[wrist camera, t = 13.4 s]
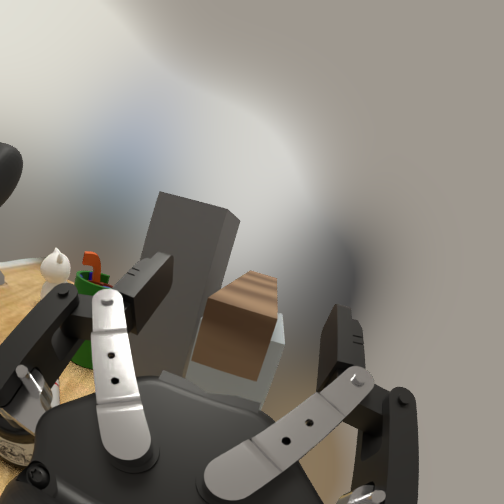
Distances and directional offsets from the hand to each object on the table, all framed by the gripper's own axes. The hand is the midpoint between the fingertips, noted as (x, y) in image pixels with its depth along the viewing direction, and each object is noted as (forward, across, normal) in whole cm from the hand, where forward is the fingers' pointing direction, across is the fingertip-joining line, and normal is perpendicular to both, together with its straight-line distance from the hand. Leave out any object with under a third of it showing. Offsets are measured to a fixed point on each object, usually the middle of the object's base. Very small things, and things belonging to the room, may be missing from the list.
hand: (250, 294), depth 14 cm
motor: (+13, -28, -38) cm, 49 cm away
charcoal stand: (+9, -11, -36) cm, 38 cm away
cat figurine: (+23, -48, -44) cm, 69 cm away
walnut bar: (+9, 0, -10) cm, 13 cm away
